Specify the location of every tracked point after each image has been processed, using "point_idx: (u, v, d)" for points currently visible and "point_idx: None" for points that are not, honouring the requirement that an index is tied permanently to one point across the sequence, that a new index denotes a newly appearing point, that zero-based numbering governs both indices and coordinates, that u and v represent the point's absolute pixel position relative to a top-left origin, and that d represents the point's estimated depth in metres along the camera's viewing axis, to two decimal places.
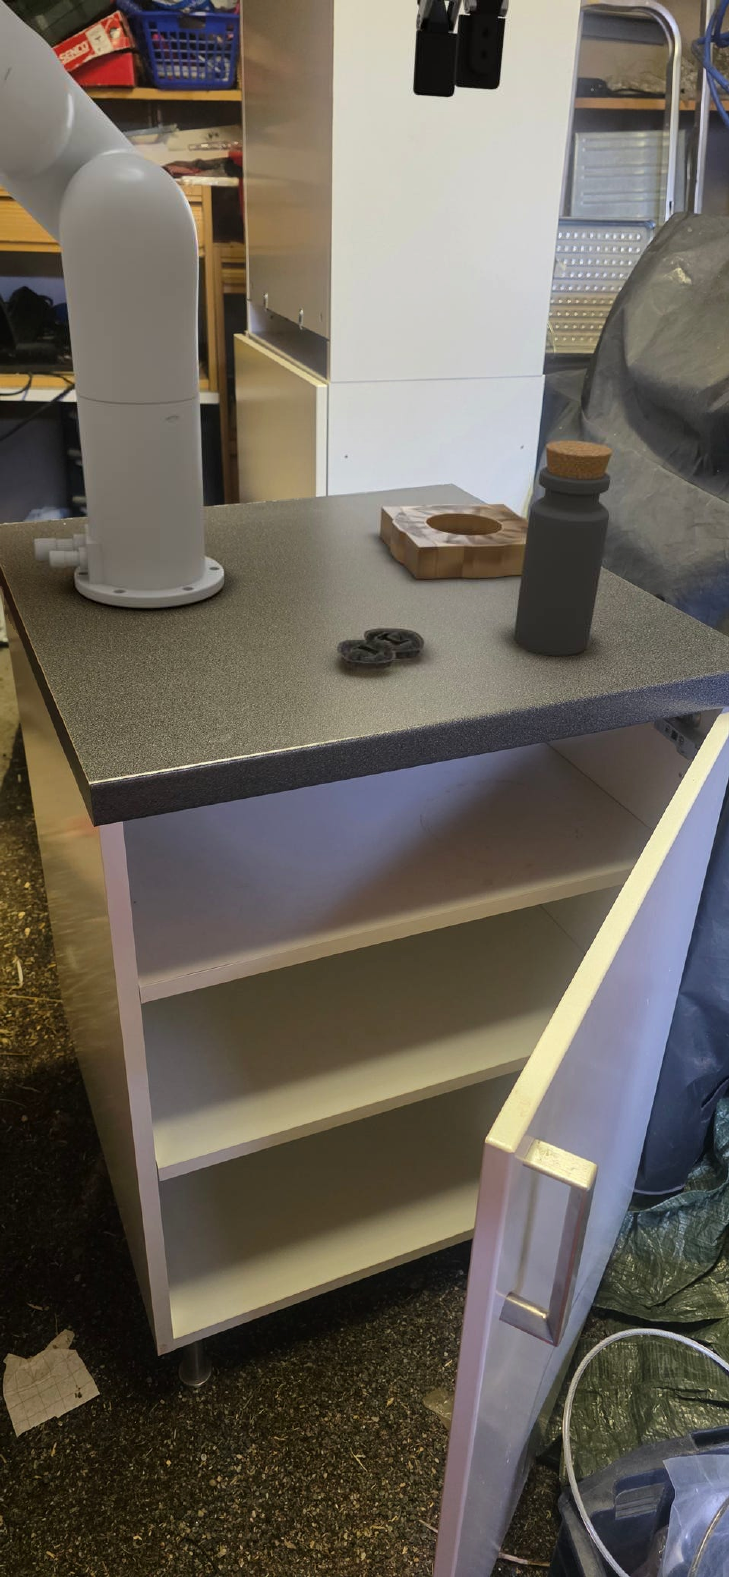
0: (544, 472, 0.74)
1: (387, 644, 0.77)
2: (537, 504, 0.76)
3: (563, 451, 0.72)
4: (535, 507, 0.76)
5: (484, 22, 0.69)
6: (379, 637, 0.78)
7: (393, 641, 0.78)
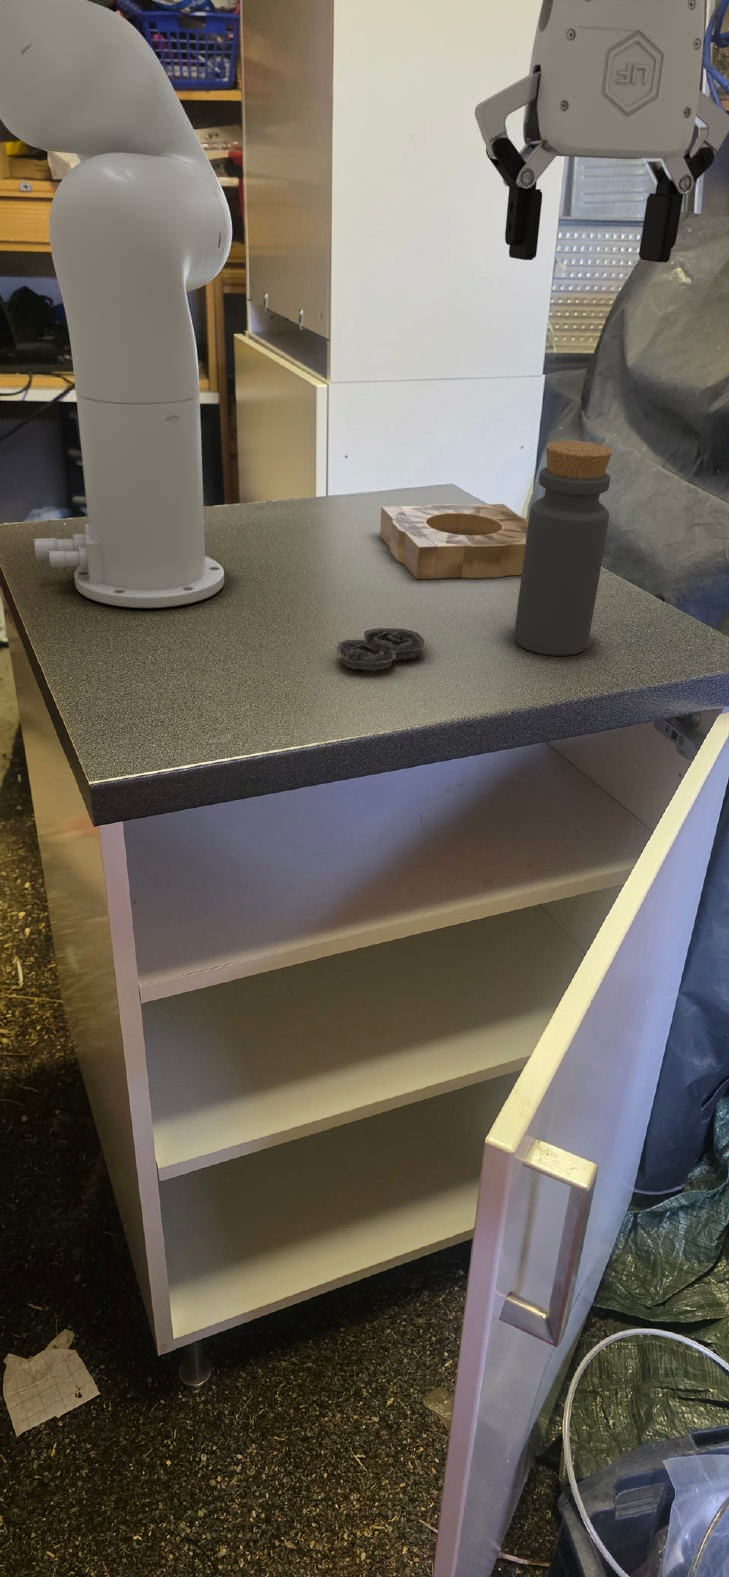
0: (543, 472, 0.74)
1: (387, 644, 0.77)
2: (537, 504, 0.76)
3: (563, 451, 0.72)
4: (535, 507, 0.75)
5: None
6: (379, 637, 0.78)
7: (393, 641, 0.78)
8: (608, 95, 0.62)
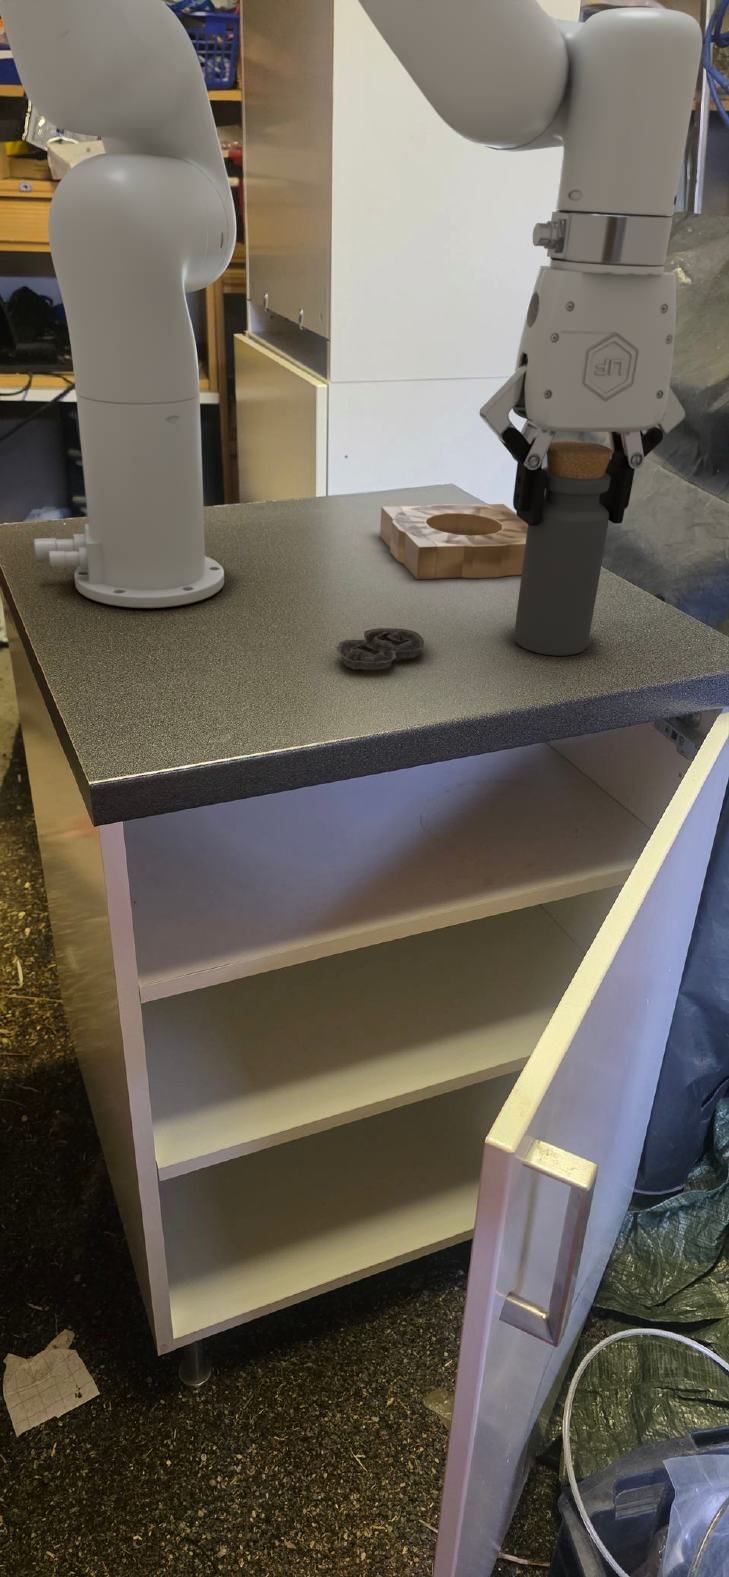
0: None
1: (387, 644, 0.77)
2: None
3: (563, 451, 0.72)
4: None
5: None
6: (379, 637, 0.78)
7: (393, 641, 0.78)
8: (588, 384, 0.69)
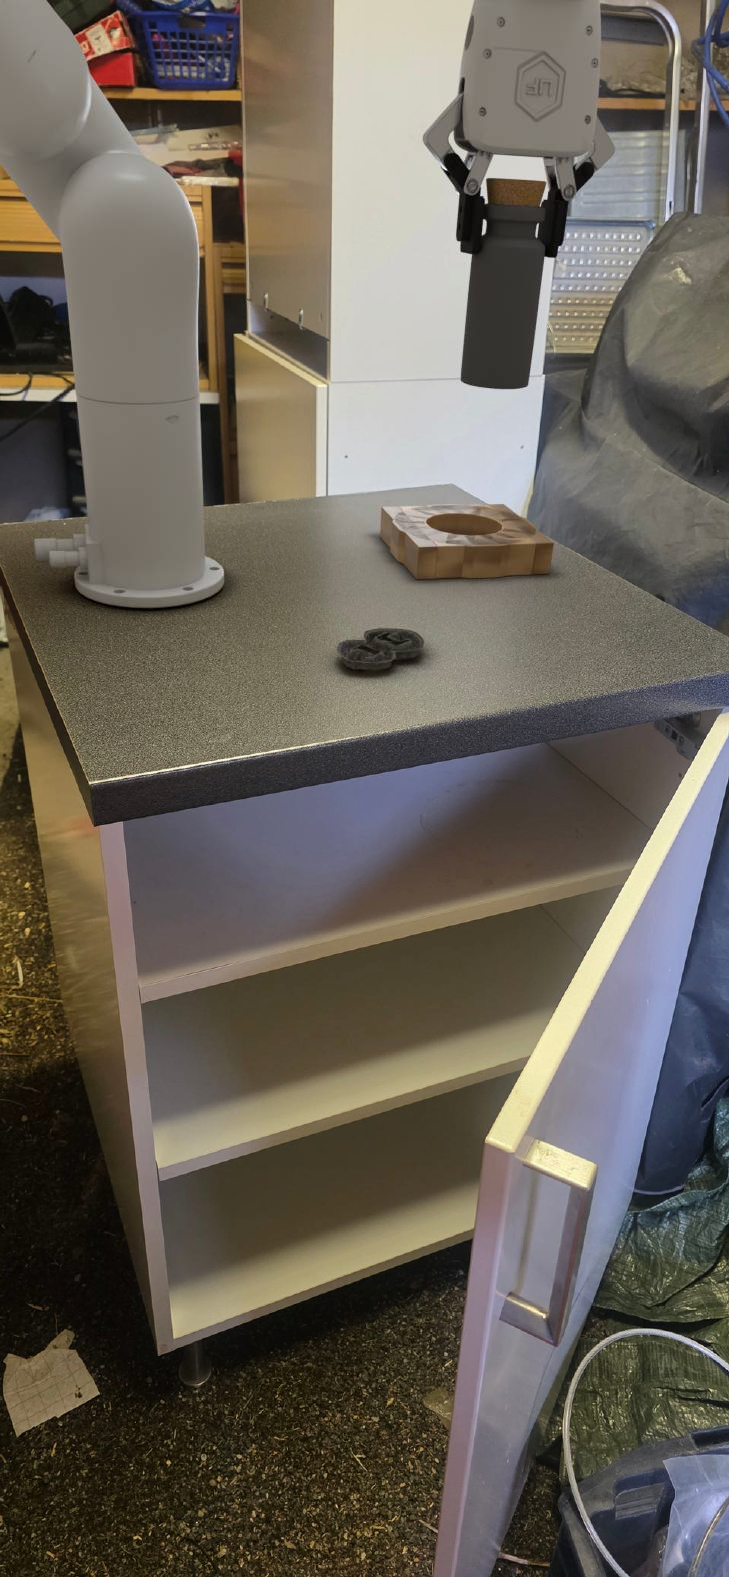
0: None
1: (387, 644, 0.77)
2: None
3: (500, 178, 0.79)
4: None
5: None
6: (379, 637, 0.78)
7: (393, 641, 0.78)
8: (519, 104, 0.75)
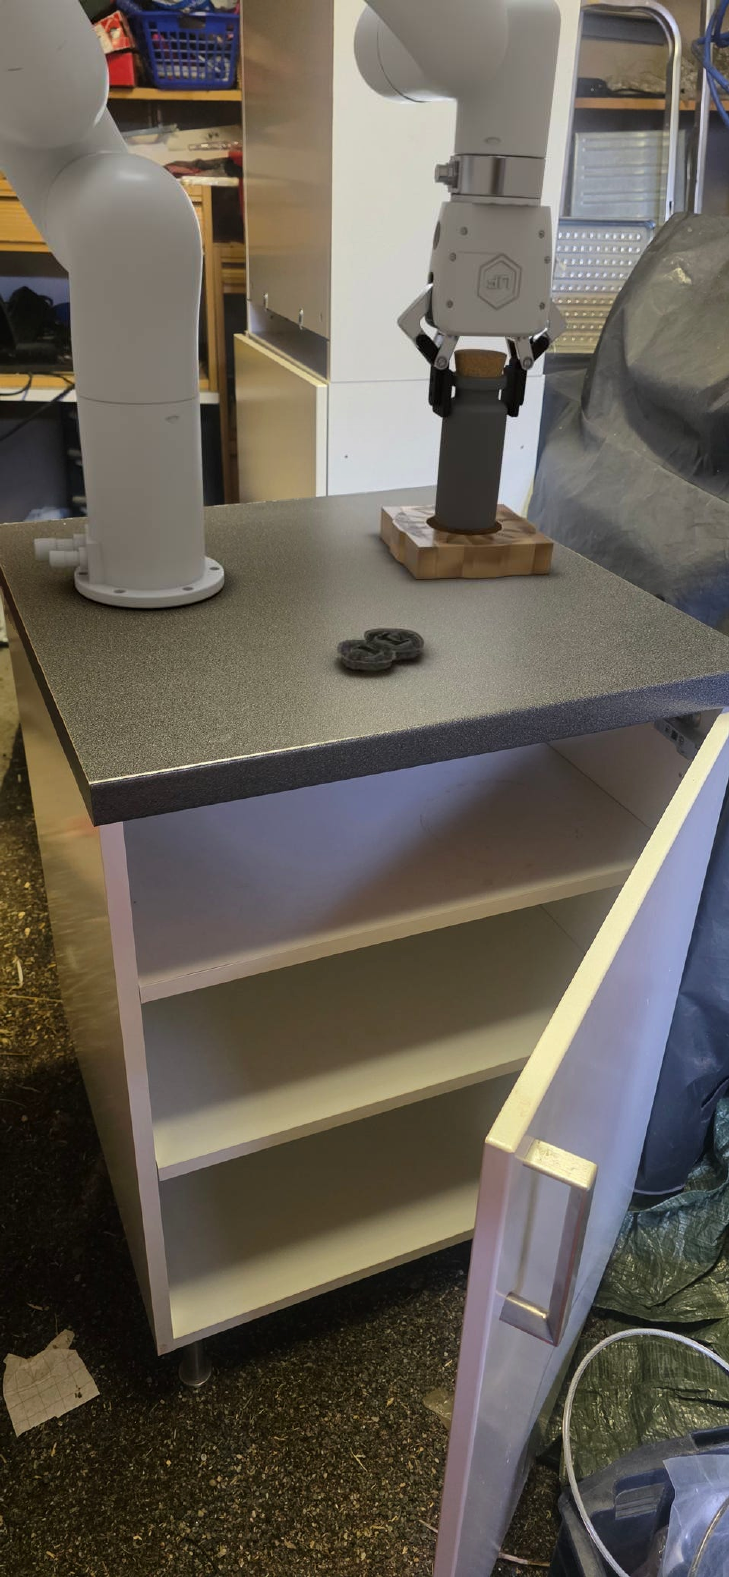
0: None
1: (387, 644, 0.77)
2: None
3: (466, 354, 0.89)
4: None
5: None
6: (379, 637, 0.78)
7: (393, 641, 0.78)
8: (482, 296, 0.85)
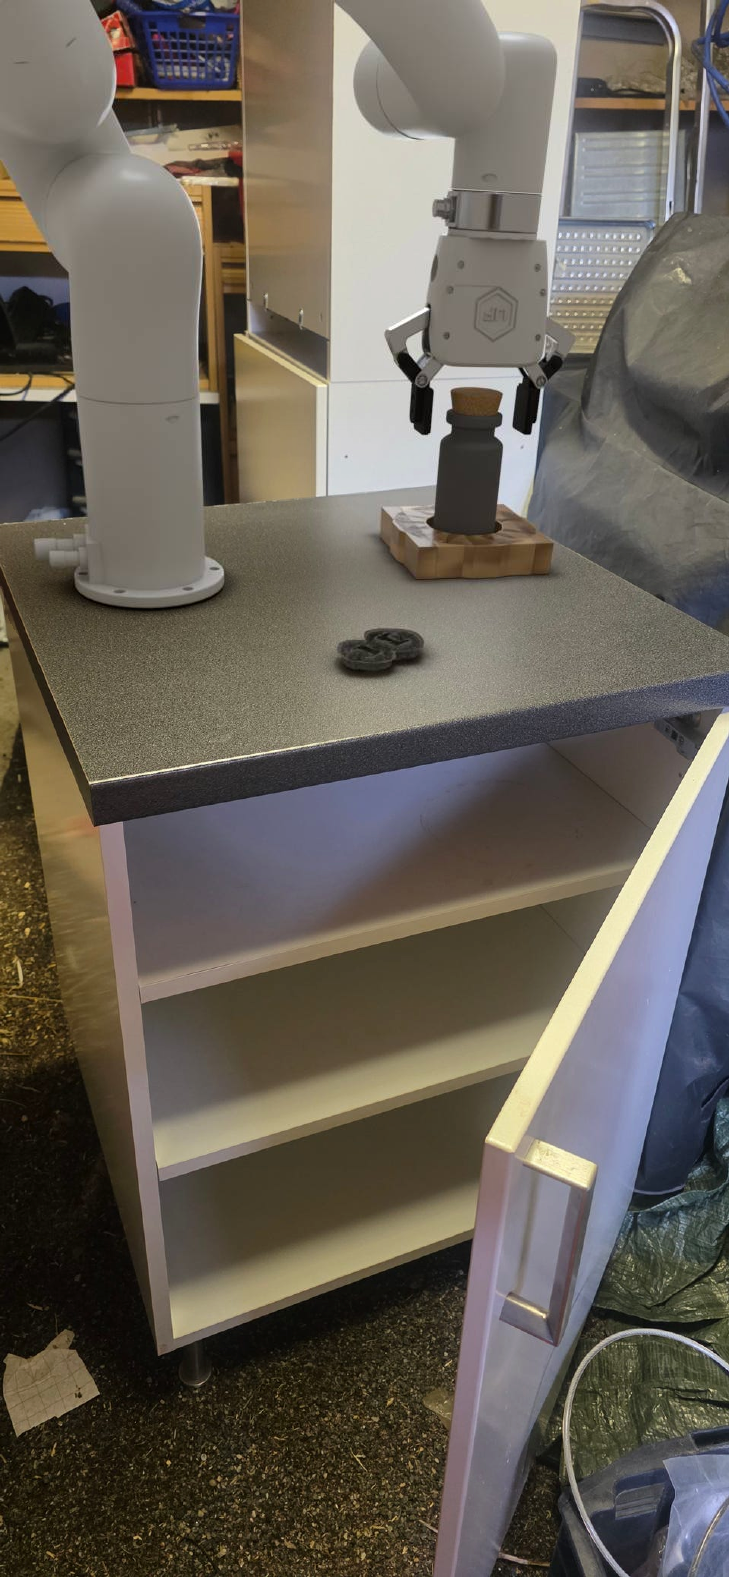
0: (449, 411, 0.93)
1: (387, 644, 0.77)
2: (445, 438, 0.94)
3: (462, 393, 0.91)
4: (443, 441, 0.94)
5: None
6: (379, 637, 0.78)
7: (393, 641, 0.78)
8: (478, 328, 0.86)
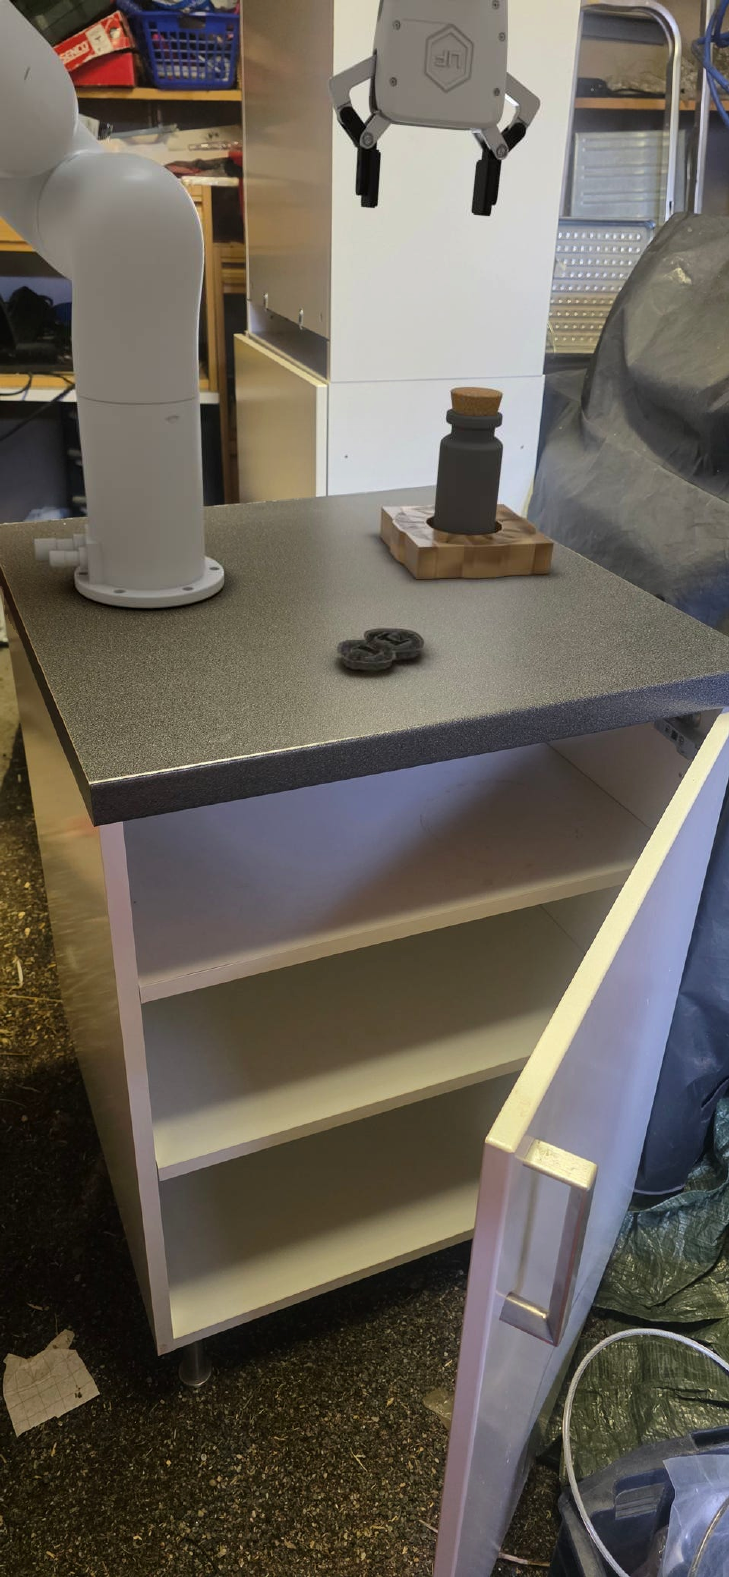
0: (449, 411, 0.93)
1: (387, 644, 0.77)
2: (445, 438, 0.94)
3: (462, 393, 0.91)
4: (443, 441, 0.94)
5: None
6: (379, 637, 0.78)
7: (393, 641, 0.78)
8: (429, 75, 0.77)
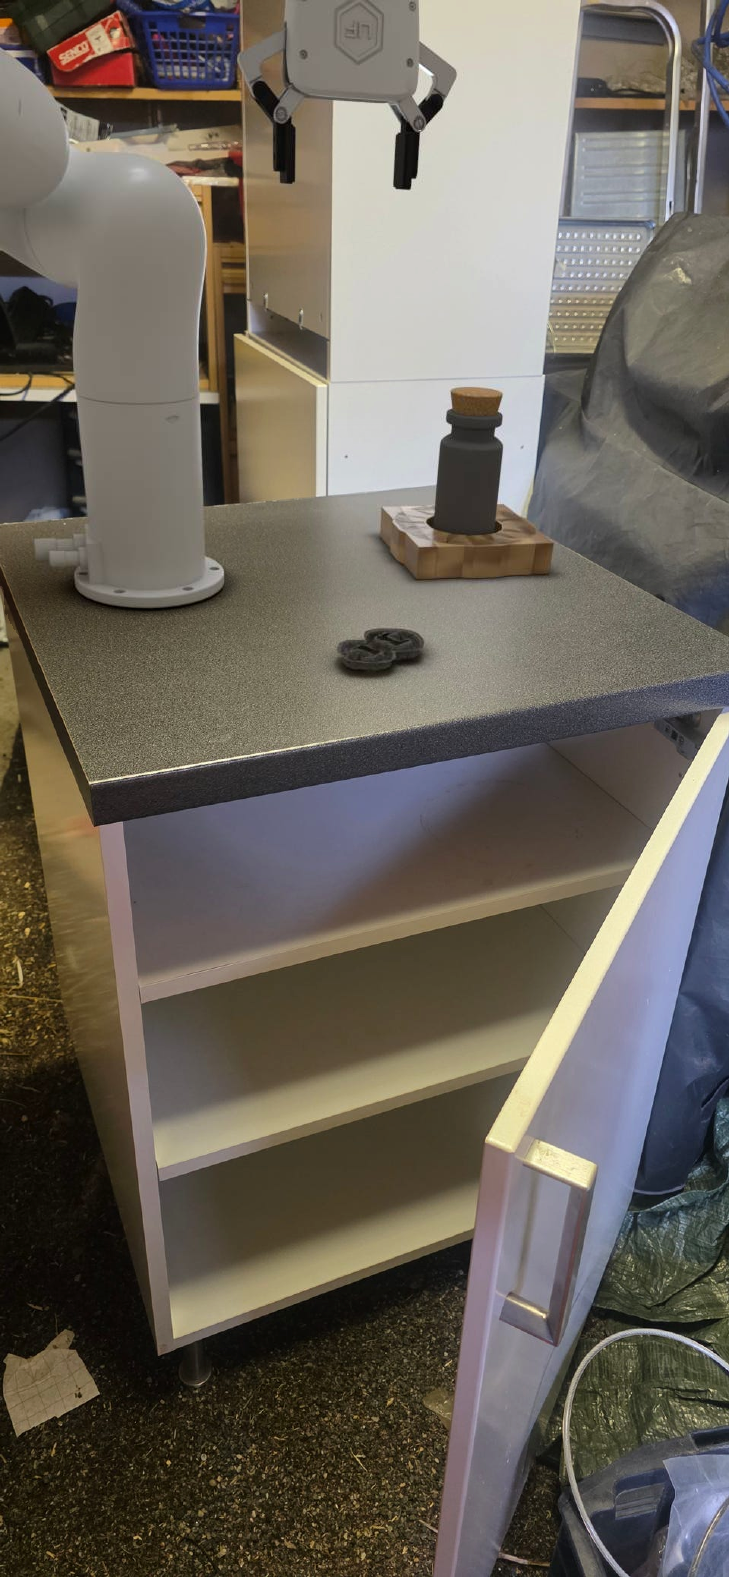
0: (449, 411, 0.93)
1: (387, 644, 0.77)
2: (445, 438, 0.94)
3: (462, 393, 0.91)
4: (443, 441, 0.94)
5: None
6: (379, 637, 0.78)
7: (393, 641, 0.78)
8: (340, 47, 0.77)
